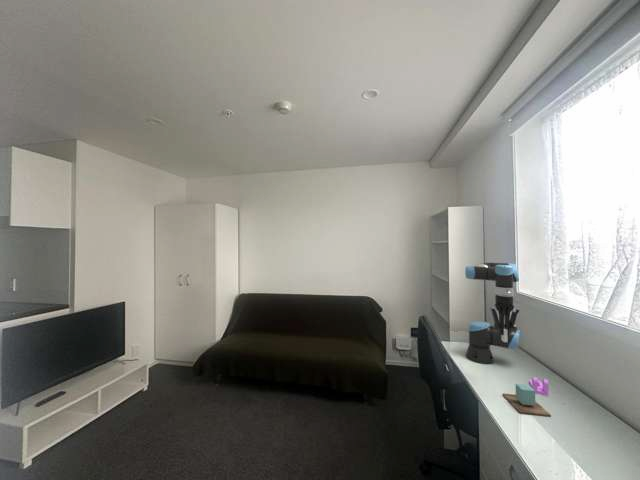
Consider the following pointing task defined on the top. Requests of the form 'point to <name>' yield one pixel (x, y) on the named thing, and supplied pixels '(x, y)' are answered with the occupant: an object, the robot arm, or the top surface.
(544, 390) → the bracket
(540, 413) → the brown square panel
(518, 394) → the teal rectangular block
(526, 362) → the top surface
